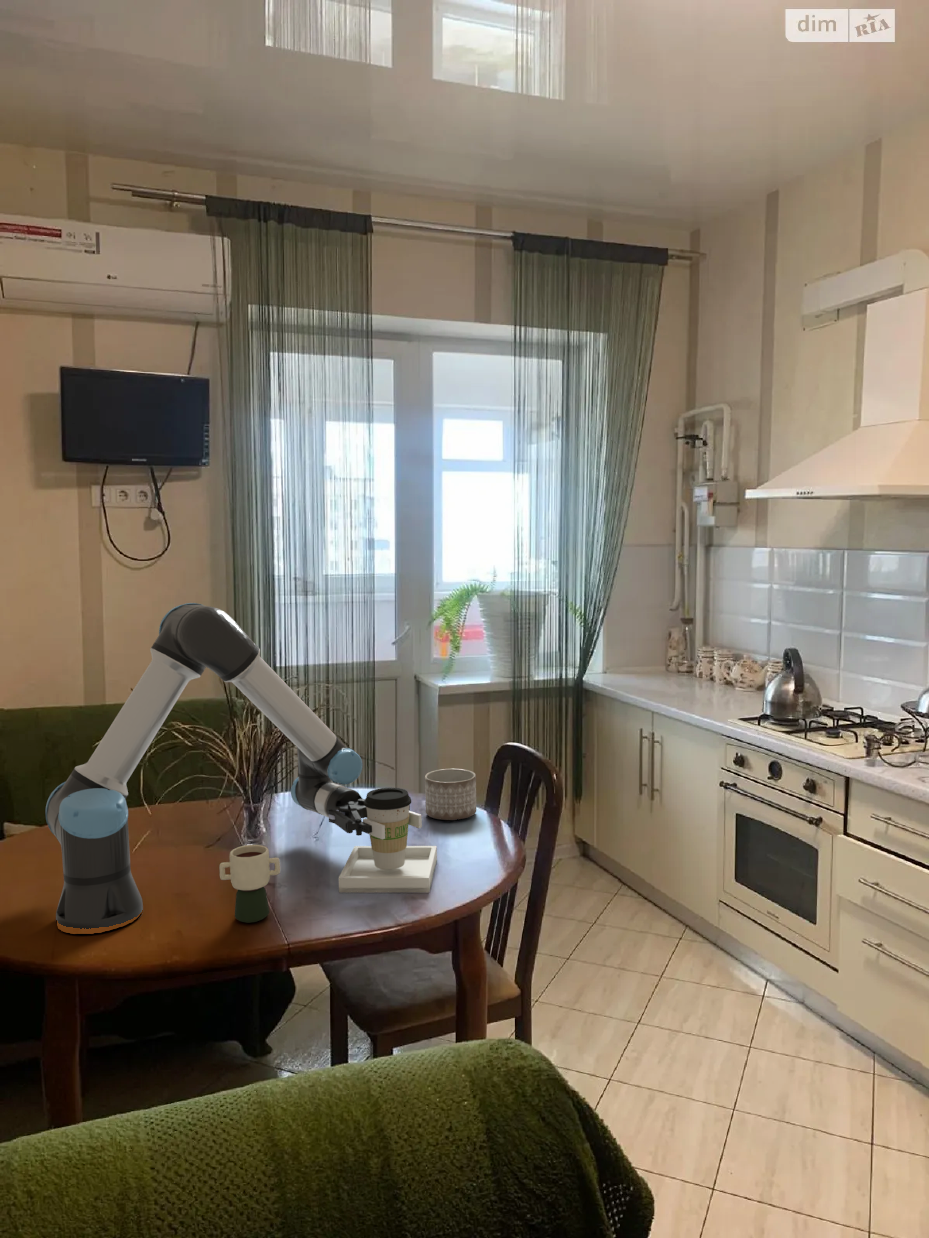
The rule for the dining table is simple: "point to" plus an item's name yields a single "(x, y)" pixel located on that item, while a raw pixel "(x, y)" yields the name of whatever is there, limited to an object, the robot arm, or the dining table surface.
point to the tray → (389, 872)
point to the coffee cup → (389, 825)
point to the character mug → (250, 880)
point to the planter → (450, 794)
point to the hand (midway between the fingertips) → (402, 826)
